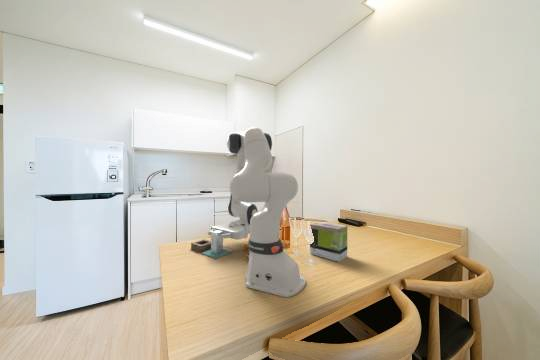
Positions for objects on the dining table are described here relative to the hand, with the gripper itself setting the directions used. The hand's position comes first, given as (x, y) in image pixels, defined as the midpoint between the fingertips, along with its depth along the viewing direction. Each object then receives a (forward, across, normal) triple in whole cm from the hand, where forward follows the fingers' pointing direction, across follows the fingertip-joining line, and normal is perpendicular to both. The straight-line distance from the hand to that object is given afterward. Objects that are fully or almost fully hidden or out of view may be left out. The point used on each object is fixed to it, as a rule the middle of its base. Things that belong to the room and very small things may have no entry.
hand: (215, 235), depth 98 cm
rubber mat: (-1, 0, +9) cm, 9 cm away
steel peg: (-1, 0, +8) cm, 9 cm away
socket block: (-1, -11, +9) cm, 14 cm away
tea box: (-31, +45, +9) cm, 55 cm away
